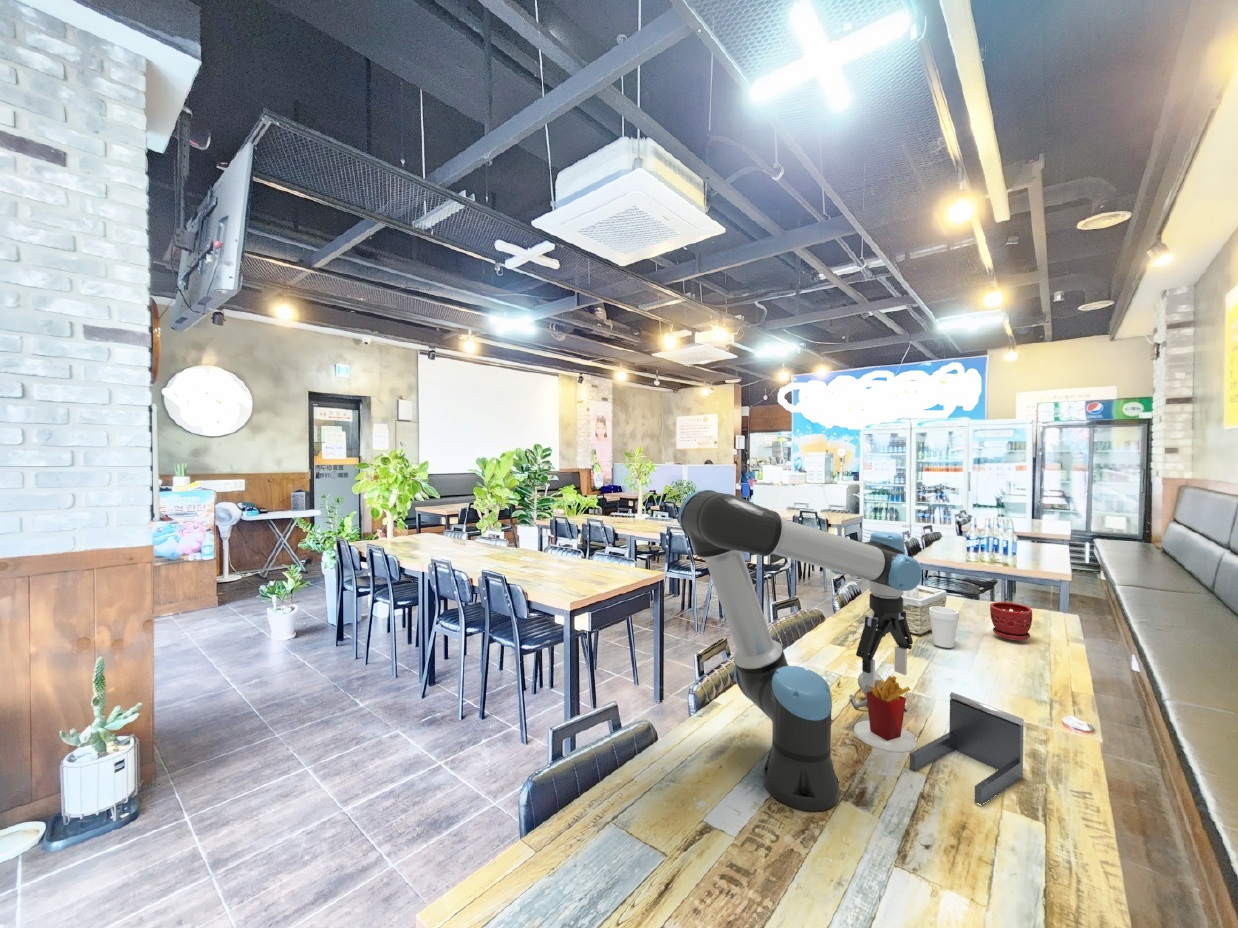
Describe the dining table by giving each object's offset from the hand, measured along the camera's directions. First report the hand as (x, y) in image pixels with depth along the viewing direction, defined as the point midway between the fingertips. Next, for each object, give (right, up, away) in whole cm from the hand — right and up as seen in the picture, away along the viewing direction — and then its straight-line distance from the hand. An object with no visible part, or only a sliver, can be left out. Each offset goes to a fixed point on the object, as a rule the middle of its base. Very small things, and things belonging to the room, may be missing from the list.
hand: (884, 678), depth 128 cm
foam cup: (+55, -14, +63) cm, 85 cm away
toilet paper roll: (+10, -18, +17) cm, 27 cm away
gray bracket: (+10, -15, -14) cm, 24 cm away
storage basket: (+57, -14, +85) cm, 103 cm away
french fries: (+2, -14, 0) cm, 15 cm away
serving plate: (0, -15, 0) cm, 15 cm away
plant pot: (+87, -14, +72) cm, 113 cm away
